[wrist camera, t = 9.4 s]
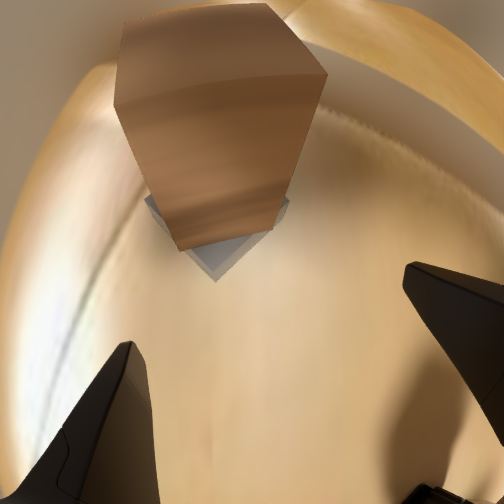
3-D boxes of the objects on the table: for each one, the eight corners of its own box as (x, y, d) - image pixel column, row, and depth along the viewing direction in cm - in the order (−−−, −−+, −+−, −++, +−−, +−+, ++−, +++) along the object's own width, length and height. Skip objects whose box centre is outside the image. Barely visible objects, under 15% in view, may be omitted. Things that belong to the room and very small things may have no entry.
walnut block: (272, 229, 18) (328, 74, 7) (179, 251, 17) (113, 105, 6) (247, 156, 20) (265, 3, 9) (165, 173, 19) (124, 22, 8)
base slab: (215, 282, 20) (212, 272, 17) (153, 217, 21) (144, 199, 18) (281, 219, 22) (289, 200, 19) (219, 164, 23) (218, 142, 20)
